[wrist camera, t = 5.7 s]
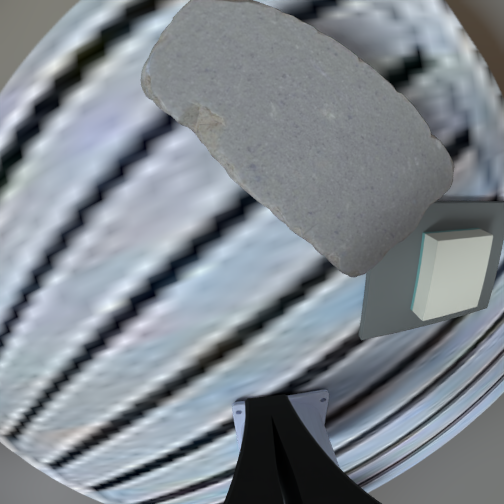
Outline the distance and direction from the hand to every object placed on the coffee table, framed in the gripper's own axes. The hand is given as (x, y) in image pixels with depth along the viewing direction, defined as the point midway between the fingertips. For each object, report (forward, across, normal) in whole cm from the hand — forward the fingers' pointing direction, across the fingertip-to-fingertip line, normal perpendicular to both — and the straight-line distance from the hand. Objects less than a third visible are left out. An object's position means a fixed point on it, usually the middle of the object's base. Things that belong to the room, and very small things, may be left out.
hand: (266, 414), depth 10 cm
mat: (+10, -15, 0) cm, 19 cm away
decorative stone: (+11, -3, -8) cm, 14 cm away
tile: (+9, -12, 0) cm, 15 cm away
